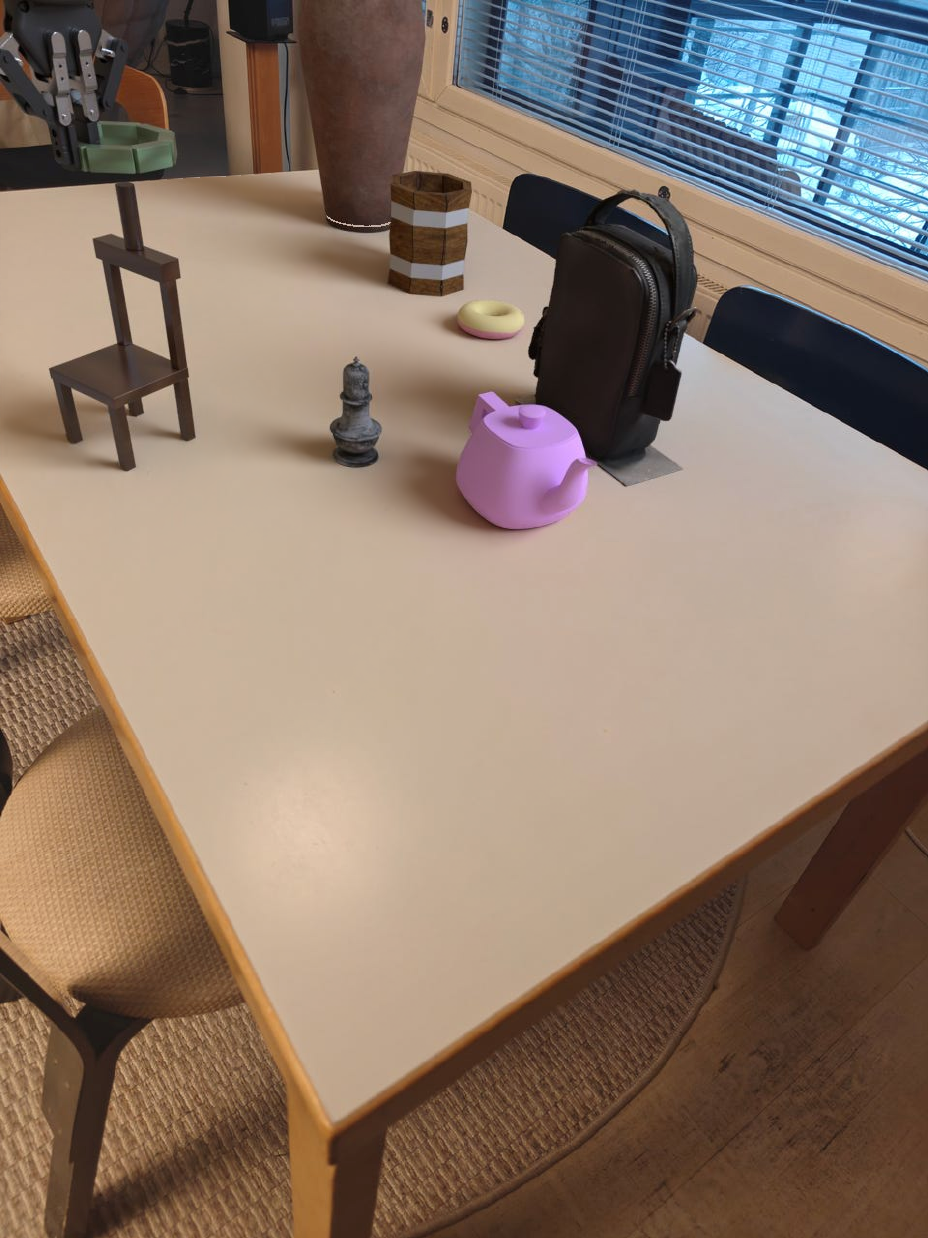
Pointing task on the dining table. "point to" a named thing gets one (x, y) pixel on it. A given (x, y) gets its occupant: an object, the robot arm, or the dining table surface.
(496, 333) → the donut
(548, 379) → the shoulder bag
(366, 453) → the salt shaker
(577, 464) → the teapot
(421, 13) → the vase
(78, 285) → the dining table surface
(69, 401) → the chair
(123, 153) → the ring
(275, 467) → the dining table surface
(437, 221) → the wooden barrel
